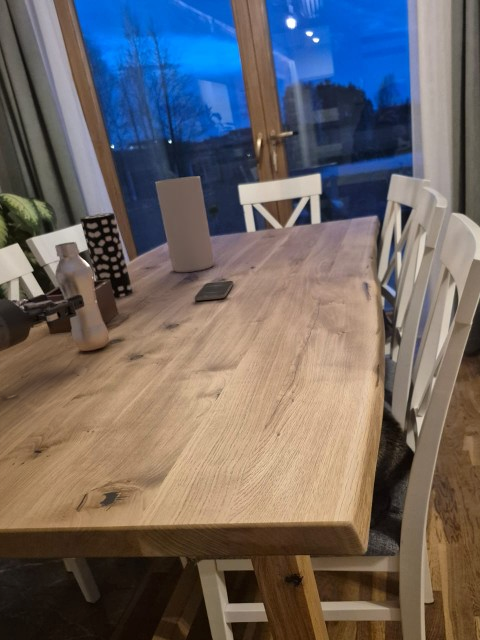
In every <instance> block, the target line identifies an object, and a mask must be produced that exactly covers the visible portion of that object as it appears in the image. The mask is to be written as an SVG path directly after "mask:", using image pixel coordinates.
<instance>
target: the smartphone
mask: <svg viewBox="0 0 480 640" xmlns="http://www.w3.org/2000/svg"><path fill="white" fill-rule="evenodd" d="M233 286H234V281H233V280H225V281H224V280H223V281H214V282H207V283H205V284H203V286H202V287H201V289H200V290H198V292H197V293H196V294H195V296H194V301H206V300H217V299H218V300H219V299H224V298H226V297H227V295H228V294H229V292H230V291H231V289H232V287H233Z"/></svg>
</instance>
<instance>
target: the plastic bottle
mask: <svg viewBox="0 0 480 640" xmlns="http://www.w3.org/2000/svg"><path fill="white" fill-rule="evenodd" d="M54 248H55V252H56V257H59V261H58V263H57V265H56V269H55V271H54V274H55V280H56V283H57V284H58V285H57V286H59V287H60V289H61V291H62V294H63V296H64V299H68V298H70V297H73V296H75V295H82V297H83V301H84V307H82V308H79V309H77V310H75V311H76V314H77V315H76V316H75V317H72V318H70V321H71V327H72V332H71V339H72V342H73V344H74V346H75V347H76V348H77V350H79V351H81V352H89V351H95V350H97V349H98V350H99V349H101V348H104V347H106V346H107V345H108V343H109V341H110V336H109V330H108V328H107V324H106V325H105V323H104V322H103V319H102V316H101V313H100V310H99V307H98V304H97V300H96V294H95V288H94V281H95V279H94V270H93V268H92V266H91V265H90V264H89V263H88V262H87V261H86V260H85V259H84V258H82V257H81V256H80V255H79V254H80V249H79V247H78V243H77V242H76V241H75V242H74V241H70V242H63V243H58V244H56V245H55V247H54Z"/></svg>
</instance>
